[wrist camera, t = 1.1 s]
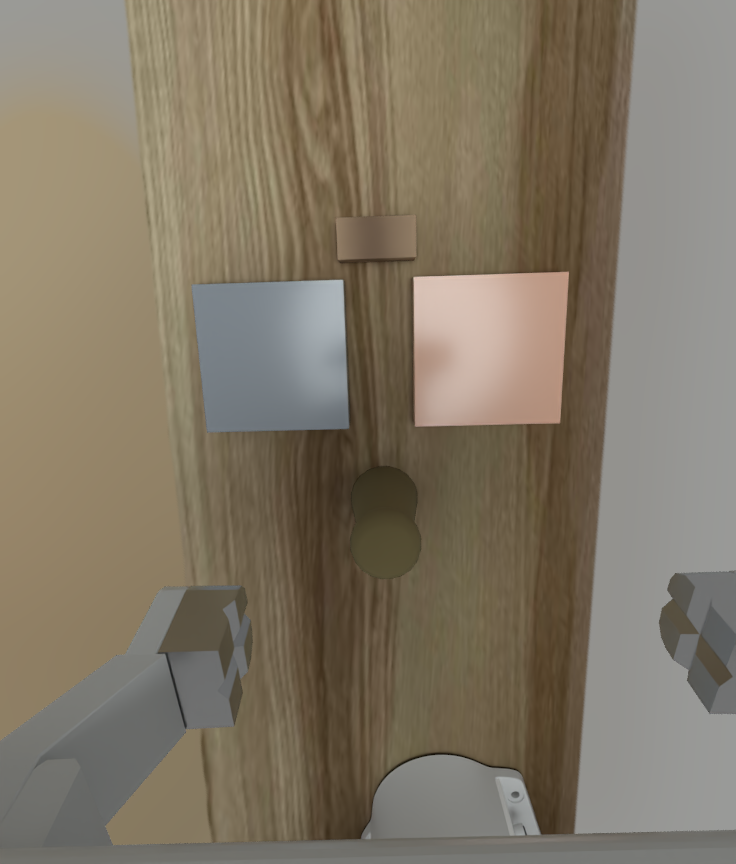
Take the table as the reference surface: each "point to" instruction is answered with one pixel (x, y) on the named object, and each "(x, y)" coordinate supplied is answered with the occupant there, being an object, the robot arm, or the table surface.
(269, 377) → the steel tile
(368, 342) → the table surface
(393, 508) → the olive rounded tall piece
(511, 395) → the terracotta tile
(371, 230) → the walnut brick
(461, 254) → the table surface
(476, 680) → the table surface
